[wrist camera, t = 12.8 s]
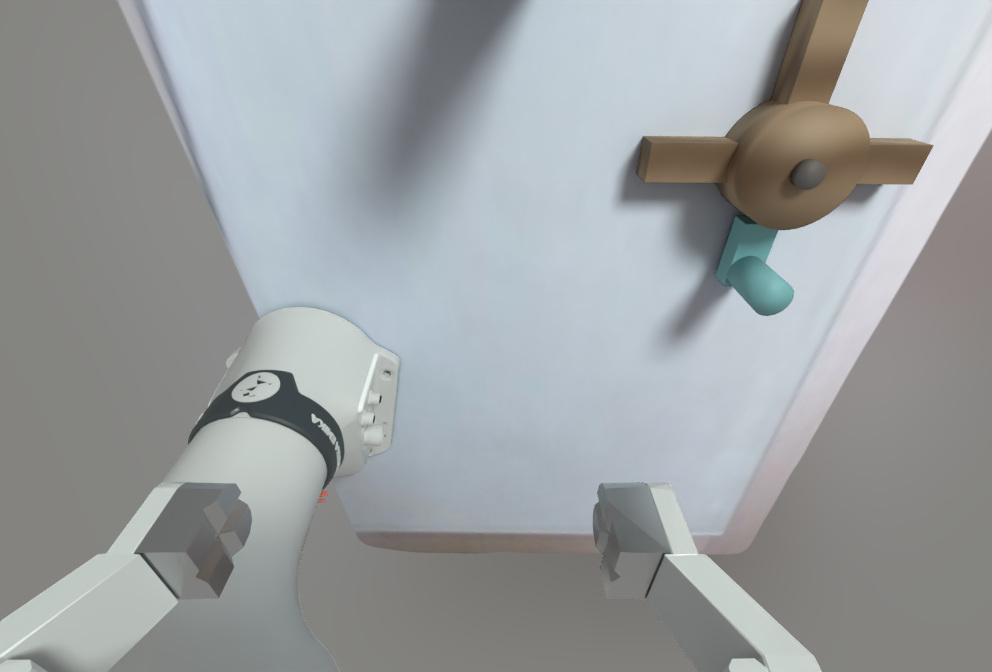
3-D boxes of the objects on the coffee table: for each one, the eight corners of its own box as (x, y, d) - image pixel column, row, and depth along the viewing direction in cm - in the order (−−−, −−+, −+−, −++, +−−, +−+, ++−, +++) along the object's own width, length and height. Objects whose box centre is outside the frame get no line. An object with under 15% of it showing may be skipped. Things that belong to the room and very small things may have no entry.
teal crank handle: (734, 216, 40) (774, 248, 34) (769, 216, 40) (815, 249, 34) (713, 277, 44) (747, 315, 38) (746, 277, 44) (784, 316, 38)
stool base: (873, 209, 40) (926, 235, 35) (630, 208, 40) (649, 233, 35) (981, -7, 31) (1072, -12, 26) (670, -11, 31) (703, -17, 26)
